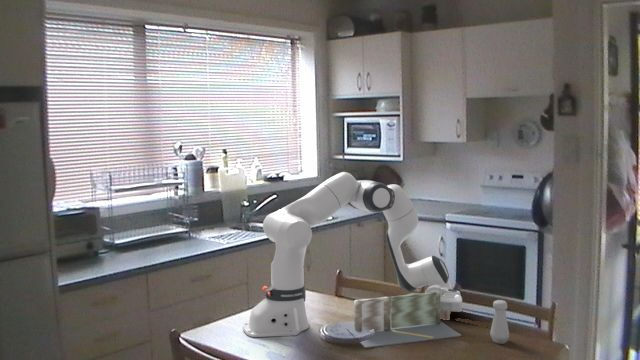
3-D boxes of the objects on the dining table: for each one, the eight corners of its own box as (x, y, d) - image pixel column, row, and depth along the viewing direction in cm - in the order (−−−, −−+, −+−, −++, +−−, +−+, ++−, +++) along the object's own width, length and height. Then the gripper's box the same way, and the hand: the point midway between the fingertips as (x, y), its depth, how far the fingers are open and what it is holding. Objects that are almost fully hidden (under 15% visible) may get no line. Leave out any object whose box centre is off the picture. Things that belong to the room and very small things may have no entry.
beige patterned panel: (356, 335, 199) (355, 301, 198) (353, 332, 202) (353, 299, 201) (391, 330, 203) (391, 298, 202) (388, 328, 205) (388, 296, 204)
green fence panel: (392, 328, 203) (392, 297, 202) (390, 326, 205) (390, 296, 204) (441, 322, 208) (441, 292, 207) (438, 321, 210) (438, 291, 209)
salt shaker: (499, 345, 189) (499, 304, 188) (486, 340, 194) (486, 300, 193) (513, 342, 192) (513, 302, 191) (499, 336, 197) (500, 297, 196)
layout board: (365, 348, 189) (365, 346, 189) (346, 329, 206) (346, 327, 206) (461, 336, 198) (461, 334, 198) (435, 319, 215) (435, 317, 215)
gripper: (407, 287, 226) (400, 297, 213) (464, 291, 219) (460, 302, 206) (407, 303, 226) (400, 315, 213) (464, 308, 220) (460, 320, 207)
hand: (430, 308), depth 210 cm, fingers closed
